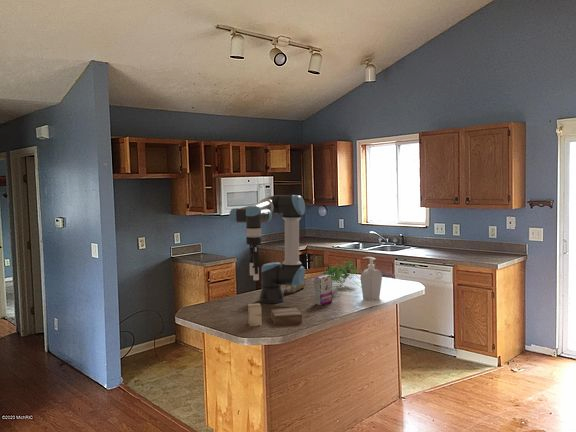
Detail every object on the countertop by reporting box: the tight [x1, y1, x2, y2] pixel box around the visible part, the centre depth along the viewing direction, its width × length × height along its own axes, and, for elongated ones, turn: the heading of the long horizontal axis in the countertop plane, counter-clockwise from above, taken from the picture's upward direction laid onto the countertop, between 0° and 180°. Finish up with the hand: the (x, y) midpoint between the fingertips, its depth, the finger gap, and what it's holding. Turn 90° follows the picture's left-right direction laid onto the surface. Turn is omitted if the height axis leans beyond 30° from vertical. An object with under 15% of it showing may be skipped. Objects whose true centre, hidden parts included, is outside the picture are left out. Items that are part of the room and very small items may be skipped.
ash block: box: [247, 302, 263, 327], centre depth 263 cm, size 6×6×10 cm
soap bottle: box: [359, 256, 383, 301], centre depth 314 cm, size 12×10×26 cm
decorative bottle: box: [283, 279, 306, 294], centre depth 337 cm, size 26×8×7 cm, turn 154°
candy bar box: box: [314, 274, 333, 306], centre depth 304 cm, size 11×5×16 cm, turn 137°
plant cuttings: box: [322, 260, 362, 293], centre depth 341 cm, size 35×17×22 cm
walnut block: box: [270, 307, 303, 326], centre depth 270 cm, size 14×14×5 cm
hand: (254, 277), depth 261 cm, fingers open, 13 cm apart
